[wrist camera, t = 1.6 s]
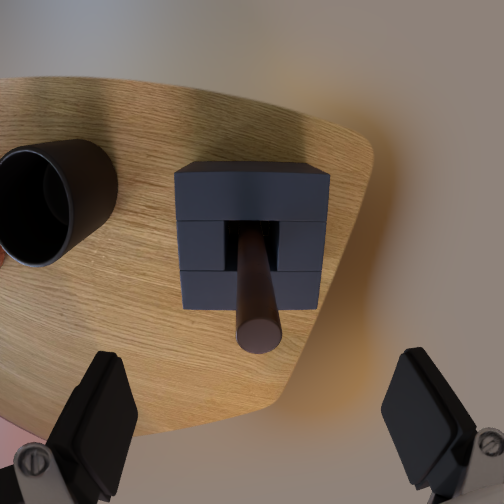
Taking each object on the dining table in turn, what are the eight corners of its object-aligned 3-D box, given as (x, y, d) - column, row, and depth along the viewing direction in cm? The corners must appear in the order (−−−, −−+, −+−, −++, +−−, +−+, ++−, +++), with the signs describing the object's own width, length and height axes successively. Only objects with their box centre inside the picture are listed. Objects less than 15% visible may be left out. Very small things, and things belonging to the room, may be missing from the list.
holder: (193, 161, 27) (174, 172, 19) (306, 162, 27) (330, 174, 19) (196, 266, 30) (183, 309, 23) (299, 266, 31) (317, 309, 23)
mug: (25, 140, 25) (-33, 150, 16) (122, 139, 25) (74, 144, 17) (26, 225, 28) (-25, 256, 19) (118, 236, 29) (77, 276, 20)
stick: (239, 206, 28) (235, 317, 11) (259, 206, 28) (284, 317, 11) (239, 225, 29) (235, 354, 12) (258, 225, 29) (280, 354, 12)
